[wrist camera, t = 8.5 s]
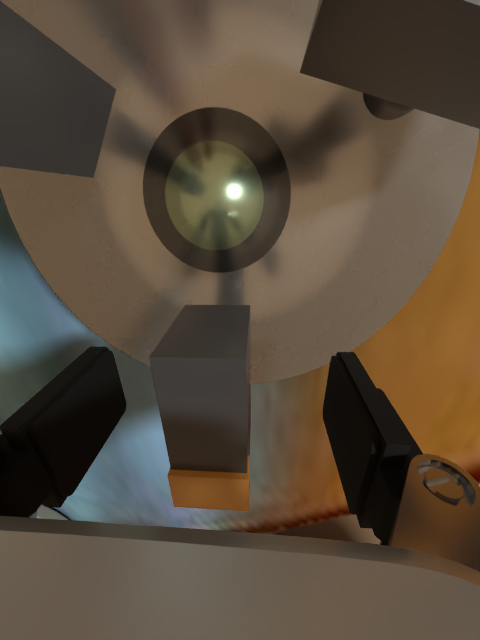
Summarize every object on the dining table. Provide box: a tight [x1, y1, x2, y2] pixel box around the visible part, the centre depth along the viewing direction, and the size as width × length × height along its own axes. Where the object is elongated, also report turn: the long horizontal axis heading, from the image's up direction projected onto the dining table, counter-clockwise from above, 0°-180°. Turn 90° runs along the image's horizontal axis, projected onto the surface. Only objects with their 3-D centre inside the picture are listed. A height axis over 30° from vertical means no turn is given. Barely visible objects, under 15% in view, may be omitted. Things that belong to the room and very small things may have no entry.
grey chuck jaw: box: [149, 305, 251, 511], centre depth 10 cm, size 6×2×6 cm, turn 1°
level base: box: [0, 0, 479, 384], centre depth 10 cm, size 18×18×4 cm
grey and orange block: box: [300, 0, 480, 129], centre depth 5 cm, size 6×2×6 cm, turn 76°
